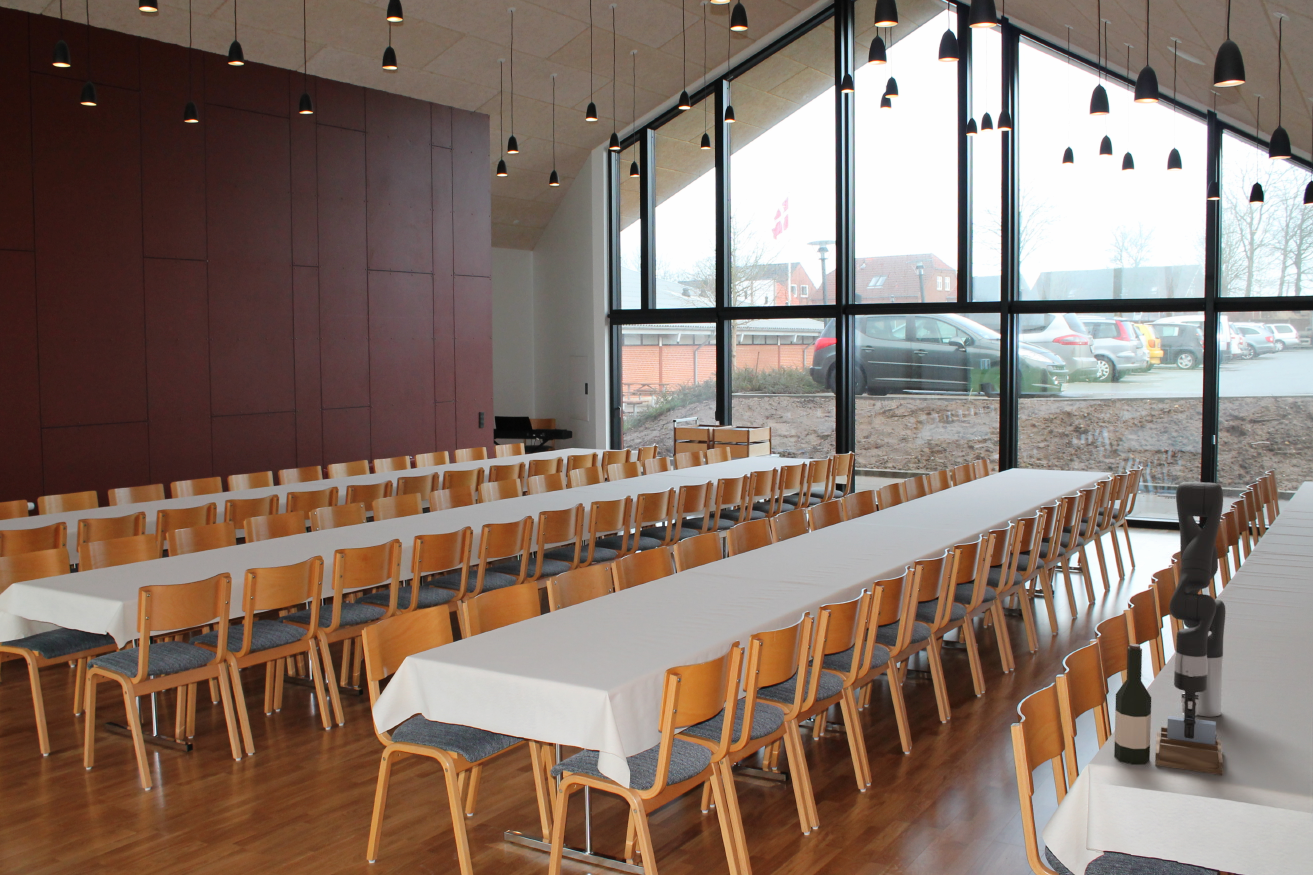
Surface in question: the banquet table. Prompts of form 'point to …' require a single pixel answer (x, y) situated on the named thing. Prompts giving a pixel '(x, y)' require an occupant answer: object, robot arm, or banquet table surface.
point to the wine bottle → (1133, 714)
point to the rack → (1188, 754)
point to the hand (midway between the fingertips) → (1188, 732)
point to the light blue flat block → (1202, 730)
